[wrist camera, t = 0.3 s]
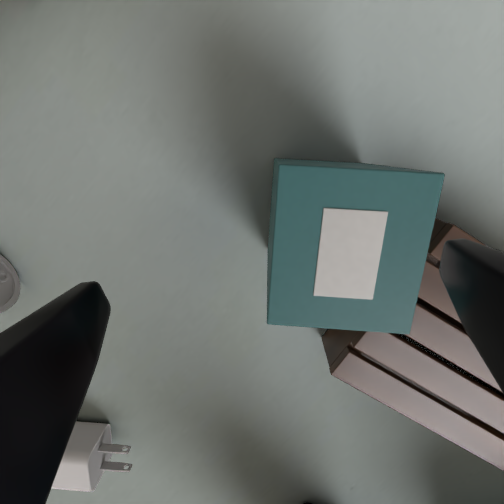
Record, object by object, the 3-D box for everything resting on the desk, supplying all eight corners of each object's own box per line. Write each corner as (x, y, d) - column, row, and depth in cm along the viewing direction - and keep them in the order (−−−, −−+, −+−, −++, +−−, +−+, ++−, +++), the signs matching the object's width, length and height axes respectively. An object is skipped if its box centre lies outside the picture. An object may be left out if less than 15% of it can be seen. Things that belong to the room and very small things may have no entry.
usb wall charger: (63, 416, 30) (33, 454, 26) (138, 422, 30) (118, 462, 26) (68, 450, 31) (40, 492, 27) (140, 456, 31) (122, 499, 27)
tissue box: (348, 255, 24) (410, 335, 14) (267, 250, 24) (266, 325, 14) (362, 163, 22) (447, 173, 12) (274, 158, 22) (278, 164, 12)
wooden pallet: (476, 427, 28) (513, 476, 24) (320, 338, 26) (330, 374, 22) (588, 320, 25) (655, 356, 20) (419, 210, 23) (453, 224, 19)
